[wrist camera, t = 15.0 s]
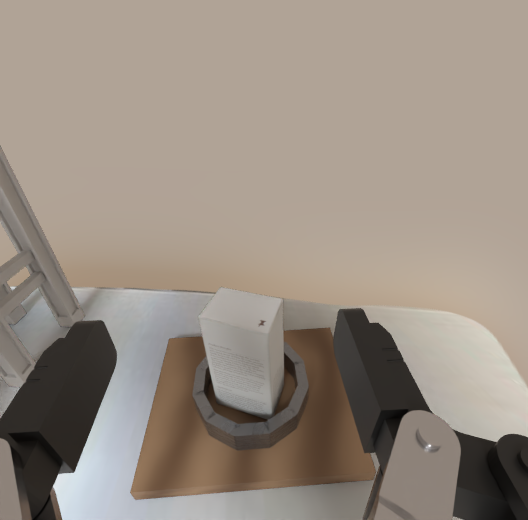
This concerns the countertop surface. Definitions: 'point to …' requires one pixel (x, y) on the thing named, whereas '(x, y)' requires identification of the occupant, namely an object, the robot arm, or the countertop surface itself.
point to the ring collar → (253, 433)
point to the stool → (42, 276)
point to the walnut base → (255, 460)
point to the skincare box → (245, 350)
